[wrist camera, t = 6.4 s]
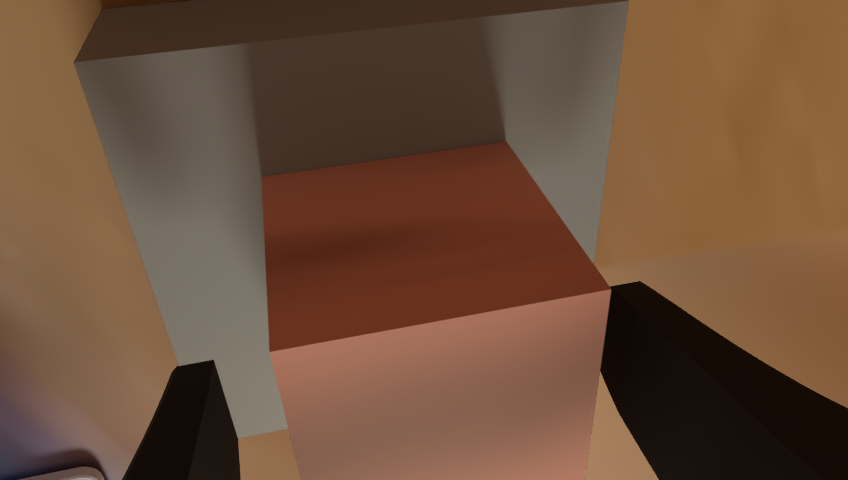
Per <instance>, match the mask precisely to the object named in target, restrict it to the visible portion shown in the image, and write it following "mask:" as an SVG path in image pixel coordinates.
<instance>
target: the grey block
mask: <svg viewBox="0 0 848 480" xmlns="http://www.w3.org/2000/svg"><path fill="white" fill-rule="evenodd" d="M628 3H629V1H628V0H189V1H179V2H169V3H159V4H149V5H139V6H129V7H119V8H109V9H102V10H101V12H100V14H99V16H98V18H97V20H96V21H95V23H94V25H93V27H92V29H91V31H90V33H89V35H88V36H87V38H86V40H85V42H84V44H83V46H82V48H81V50H80V51H79V53H78V55H77V57H76V59H75V61H74V65H75V68H76V70H77V73H78V76H79V79H80V82H81V85H82V88H83V91H84V93H85V96H86V99H87V102H88V105H89V108H90V111H91V114H92V117H93V119H94V122H95V125H96V128H97V131H98V134H99V137H100V140H101V142H102V145H103V148H104V151H105V154H106V157H107V160H108V163H109V166H110V168H111V171H112V174H113V177H114V180H115V183H116V186H117V189H118V191H119V194H120V197H121V200H122V203H123V206H124V209H125V212H126V214H127V217H128V220H129V223H130V226H131V229H132V232H133V235H134V238H135V240H136V243H137V246H138V249H139V252H140V255H141V258H142V261H143V263H144V266H145V269H146V272H147V275H148V278H149V281H150V284H151V287H152V289H153V292H154V295H155V298H156V301H157V304H158V307H159V310H160V312H161V315H162V318H163V321H164V324H165V327H166V330H167V333H168V336H169V338H170V341H171V344H172V347H173V350H174V353H175V356H176V359H177V361H178V364H179V366H182V365H187V364H193V363H198V362H203V361H209V360H214V362H215V365H216V369H217V372H218V375H219V378H220V382H221V385H222V388H223V391H224V395H225V398H226V401H227V404H228V408H229V411H230V414H231V417H232V421H233V424H234V427H235V431H236V434H237V437H238V438H243V437H248V436H253V435H258V434H263V433H268V432H273V431H278V430H283V429H288V425H287V421H286V417H285V413H284V409H283V405H282V401H281V397H280V393H279V389H278V385H277V381H276V376H275V372H274V368H273V364H272V360H271V356H270V352H269V330H268V308H267V286H266V265H265V243H264V221H263V199H262V177H266V176H273V175H280V174H287V173H293V172H300V171H307V170H314V169H321V168H328V167H334V166H341V165H348V164H355V163H362V162H369V161H375V160H382V159H389V158H396V157H403V156H410V155H416V154H423V153H430V152H437V151H444V150H451V149H457V148H464V147H471V146H478V145H485V144H492V143H498V142H505V141H507V143H508V144H509V146H510V147H511V148H512V150H513V151H514V153H515V154H516V155H517V157H518V158H519V160H520V161H521V162H522V164H523V165H524V167H525V168H526V170H527V171H528V172H529V174H530V175H531V177H532V178H533V179H534V181H535V182H536V184H537V185H538V186H539V188H540V189H541V191H542V192H543V194H544V195H545V196H546V198H547V199H548V201H549V202H550V203H551V205H552V206H553V208H554V209H555V210H556V212H557V213H558V215H559V216H560V218H561V219H562V220H563V222H564V223H565V225H566V226H567V227H568V229H569V230H570V232H571V233H572V234H573V236H574V237H575V239H576V240H577V242H578V243H579V244H580V246H581V247H582V249H583V250H584V251H585V253H586V254H587V256H588V257H589V258H590V260H591V261H592V263H593V264H594V257H595V250H596V242H597V235H598V227H599V220H600V212H601V205H602V197H603V190H604V182H605V175H606V167H607V160H608V152H609V145H610V138H611V130H612V123H613V115H614V108H615V100H616V93H617V85H618V78H619V70H620V63H621V55H622V48H623V40H624V33H625V25H626V18H627V10H628Z"/></svg>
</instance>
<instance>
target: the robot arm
mask: <svg viewBox="0 0 848 480" xmlns="http://www.w3.org/2000/svg"><path fill="white" fill-rule="evenodd" d="M610 288H611V296H610V303H609V310H608V317H607V324H606V332H605V339H604V346H603V353H602V360H601V368H600V371H601V374H602V376H603V378H604V381H605V383H606V385H607V388H608V390H609V392H610V395H611V397H612V399H613V401H614V403H615V406H616V408H617V410H618V412H619V414H620V416H621V417H622V419H623V421H624V423H625V424H626V426H627V428H628V429H629V431H630V433H631V434H632V436H633V438H634V439H635V441H636V443H637V444H638V446H639V448H640V449H641V451H642V452H643V454H644V456H645V457H646V459H647V461H648V462H649V464H650V466H651V467H652V469H653V471H654V472H655V474H656V475H657V477H658V479H659V480H848V408H846V407H844V406H842V405H840V404H838V403H836V402H834V401H832V400H830V399H828V398H826V397H824V396H822V395H820V394H818V393H816V392H815V391H813V390H811V389H809V388H807V387H805V386H804V385H802V384H800V383H798V382H796V381H795V380H793V379H791V378H790V377H788V376H786V375H784V374H783V373H781V372H779V371H777V370H776V369H774V368H772V367H771V366H769V365H767V364H766V363H764V362H762V361H761V360H759V359H757V358H756V357H754V356H753V355H751V354H749V353H748V352H746V351H745V350H743V349H741V348H740V347H738V346H737V345H735V344H733V343H732V342H730V341H729V340H727V339H726V338H724V337H723V336H721V335H720V334H718V333H717V332H715V331H714V330H712V329H710V328H709V327H708V326H706V325H705V324H703V323H702V322H700V321H699V320H697V319H696V318H694V317H693V316H691V315H690V314H688V313H687V312H685V311H684V310H682V309H681V308H680V307H678V306H677V305H675V304H674V303H672V302H671V301H669V300H668V299H666V298H665V297H663V296H662V295H660V294H659V293H657V292H656V291H654V290H653V289H651V288H650V287H648V286H647V285H645V284H644V283H642V282H640V281H638V282H633V283H627V284H622V285H616V286H611V287H610ZM18 480H104V478H103V476H102V474H101V473H100V472H99V471H98V470H97V469H95V468H92V467H77V468H72V469H67V470H62V471H57V472H53V473H48V474H43V475H38V476H33V477H28V478H23V479H18ZM122 480H240V464H239V449H238V437H237V434H236V431H235V427H234V424H233V421H232V417H231V414H230V411H229V408H228V404H227V401H226V398H225V395H224V391H223V388H222V385H221V382H220V378H219V375H218V372H217V369H216V365H215V362H214V360H209V361H203V362H198V363H193V364H187V365H182V366H177V367H176V368H175V369H174V370H173V372H172V373H171V376H170V378H169V381H168V383H167V386H166V388H165V391H164V393H163V395H162V398H161V400H160V402H159V405H158V407H157V409H156V412H155V414H154V416H153V418H152V420H151V423H150V425H149V427H148V429H147V431H146V433H145V435H144V438H143V440H142V442H141V444H140V445H139V447H138V449H137V451H136V453H135V455H134V457H133V459H132V461H131V463H130V465H129V467H128V469H127V471H126V473H125V475H124V477H123V479H122Z"/></svg>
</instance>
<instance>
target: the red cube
mask: <svg viewBox="0 0 848 480" xmlns="http://www.w3.org/2000/svg"><path fill="white" fill-rule="evenodd" d="M262 199H263V221H264V243H265V265H266V286H267V308H268V330H269V352H270V356H271V360H272V364H273V368H274V372H275V376H276V381H277V385H278V389H279V393H280V397H281V401H282V405H283V409H284V413H285V417H286V421H287V425H288V429H289V433H290V438H291V442H292V446H293V450H294V454H295V458H296V462H297V466H298V470H299V474H300V478H301V480H585V475H586V469H587V461H588V454H589V447H590V439H591V433H592V425H593V418H594V411H595V404H596V396H597V389H598V382H599V374H600V368H601V360H602V353H603V346H604V339H605V332H606V324H607V317H608V310H609V303H610V296H611V288H610V287H609V285H608V284H607V282H606V281H605V280H604V278H603V277H602V275H601V274H600V273H599V271H598V270H597V268H596V267H595V266H594V264H593V263H592V261H591V260H590V258H589V257H588V256H587V254H586V253H585V251H584V250H583V249H582V247H581V246H580V244H579V243H578V242H577V240H576V239H575V237H574V236H573V234H572V233H571V232H570V230H569V229H568V227H567V226H566V225H565V223H564V222H563V220H562V219H561V218H560V216H559V215H558V213H557V212H556V210H555V209H554V208H553V206H552V205H551V203H550V202H549V201H548V199H547V198H546V196H545V195H544V194H543V192H542V191H541V189H540V188H539V186H538V185H537V184H536V182H535V181H534V179H533V178H532V177H531V175H530V174H529V172H528V171H527V170H526V168H525V167H524V165H523V164H522V162H521V161H520V160H519V158H518V157H517V155H516V154H515V153H514V151H513V150H512V148H511V147H510V146H509V144H508V143H507V141H505V142H498V143H492V144H485V145H478V146H471V147H464V148H457V149H451V150H444V151H437V152H430V153H423V154H416V155H410V156H403V157H396V158H389V159H382V160H375V161H369V162H362V163H355V164H348V165H341V166H334V167H328V168H321V169H314V170H307V171H300V172H293V173H287V174H280V175H273V176H266V177H262Z"/></svg>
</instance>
